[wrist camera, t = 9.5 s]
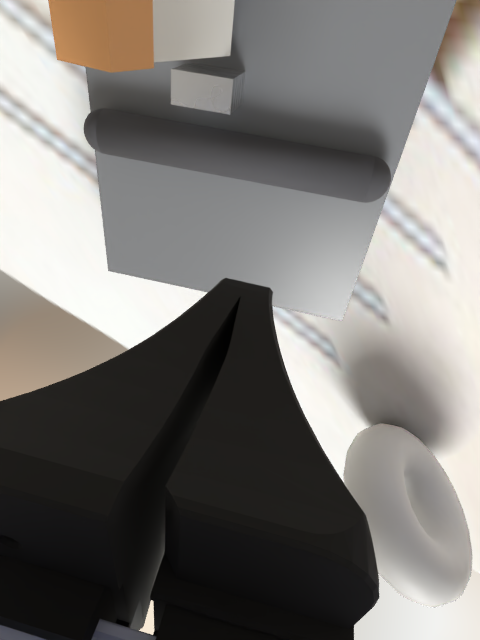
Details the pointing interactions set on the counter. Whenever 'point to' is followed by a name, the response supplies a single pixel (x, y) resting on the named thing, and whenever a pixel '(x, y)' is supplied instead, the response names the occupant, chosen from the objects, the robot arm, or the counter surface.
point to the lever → (140, 31)
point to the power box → (264, 148)
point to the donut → (410, 515)
